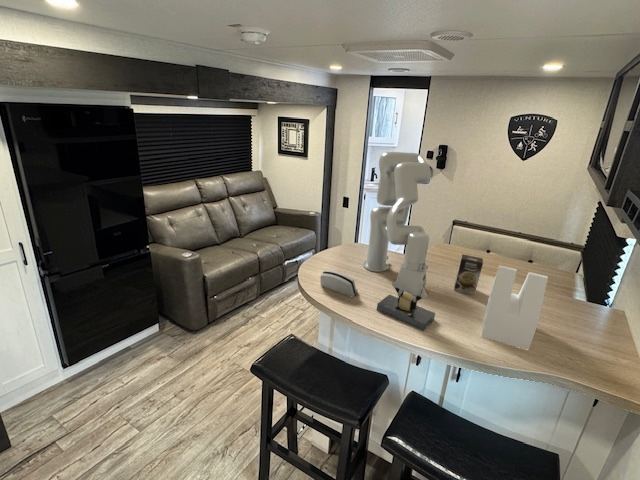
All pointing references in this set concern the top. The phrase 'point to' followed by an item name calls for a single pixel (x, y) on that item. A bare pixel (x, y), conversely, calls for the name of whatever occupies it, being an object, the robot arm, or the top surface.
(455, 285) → the coffee box
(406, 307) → the brass cube
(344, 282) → the hinge
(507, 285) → the white slotted block
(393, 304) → the grey square hole block
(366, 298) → the top surface
